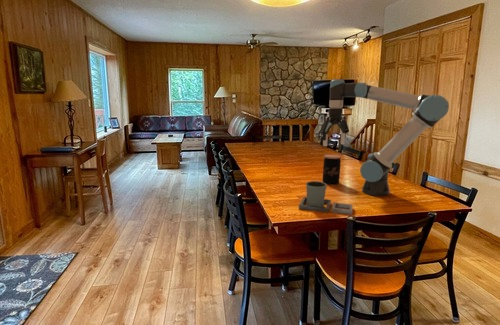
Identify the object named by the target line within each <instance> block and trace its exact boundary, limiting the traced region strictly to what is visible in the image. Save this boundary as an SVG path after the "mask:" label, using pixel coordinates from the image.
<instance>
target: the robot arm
mask: <svg viewBox="0 0 500 325" xmlns="http://www.w3.org/2000/svg"><path fill="white" fill-rule="evenodd" d="M344 98H362V99H366V100H370V101H374V102H379V103H384V104H388V105H393V106H395V107H401V108H404V109H410V110H412V114H411V115H412V117H411V118H410V119H408V121H407V122H406V123H405V124H404V125H403V126H402V128H400V129H399V131H397V132H396V133H395V134H394V136H393V137H392V138H391V139H389V141H387V143H386V144H385V145H384V146H383V147H382V148H381V149H380V150H379V151H378V152H377V151H376V152H375V151H374V152H373V153H369V154H368V156H367V160H366V161H365V162H362V164H361V167H360V171H359V172H360V176H361V178H363V179H364V180H365V181H364V182H363V185H362V189H361V191H362V193H364V194H367V195H369V196H377V197H385V196H388V195H390V191H391V190H390V189H391V188H390V186H389V182H388V181H389V180H388V179H389V178H388V177H389V171H390V170H391V168H392V167H393V162H394V161H395V160H396V159H397V158H398V157H399V156H400V155H401V154H402V153H403V152H405V150H407V148H408V147H409V146H410V145H411V144H412V143H413V142H414V141H415V140H416V139H418V138H419V137H420V135H421V134H422V133H424V131H425V130H427V129H430V128H433V127H435V125H436V124H437V123H438V122H439V121H440V120H441V119H443V118H444V117H445V116H446V115H447V114H448V112H449V109H450V105H449V101H448V100H447V99H446V98H445V97H444V96H442V95H440V94H432V95H429V94H423V93H422V94H419V95H417V94H415V93H414V94H412V93H409V92H404V91H398V90H394V89H388V88H384V87H379V86H374V85H370V84H367V83H366V82H345V79H332V80H330V86H329V102H328V103H329V104H328V107H329V109H328V115H329V116H324V121H323V124H322V126H321V128H320V130H319V134H321V135H322V146H323V147H328V141H329V140H328V139H329V138H328V136H329V134H328V132H330V130H331V128H332V126H334V125H337V126H338V128H339V129H340V131H341V133H340V145H344V146H345V144H346V139H347V134H348V133H349V132H350V129H349V126H348V123H347V117H346V116H345V115H343V110H344V109H343V107H344Z"/></svg>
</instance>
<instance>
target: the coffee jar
mask: <svg viewBox="0 0 500 325" xmlns="http://www.w3.org/2000/svg"><path fill="white" fill-rule="evenodd" d="M341 159H342V156H341V155H338V154H324V155H323V163H322V164H323V166H322V182H323V183H326V185H327V186H328V185H329V186H334V185H335V186H336V185H338V184H339V183H340V175H341V164H342V161H341Z"/></svg>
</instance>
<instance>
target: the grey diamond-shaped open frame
mask: <svg viewBox="0 0 500 325" xmlns="http://www.w3.org/2000/svg"><path fill="white" fill-rule="evenodd" d="M353 206H354V205H353V204H349V203H339V202H333V203H332V207H331V213H334V214H342V215H348V216H349V215H353V209H354V208H353Z"/></svg>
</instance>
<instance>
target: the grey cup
mask: <svg viewBox="0 0 500 325" xmlns="http://www.w3.org/2000/svg"><path fill="white" fill-rule="evenodd" d="M305 183H306V184H305V185H306V186H305V187H306V197H307V201H306V205H308V206H316V207H325V203H324V199H326V197H325V196H326V190H327V184H326V183H323V181H318V180H317V181H316V180H315V181H314V180H312V181H308V182H305Z"/></svg>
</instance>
